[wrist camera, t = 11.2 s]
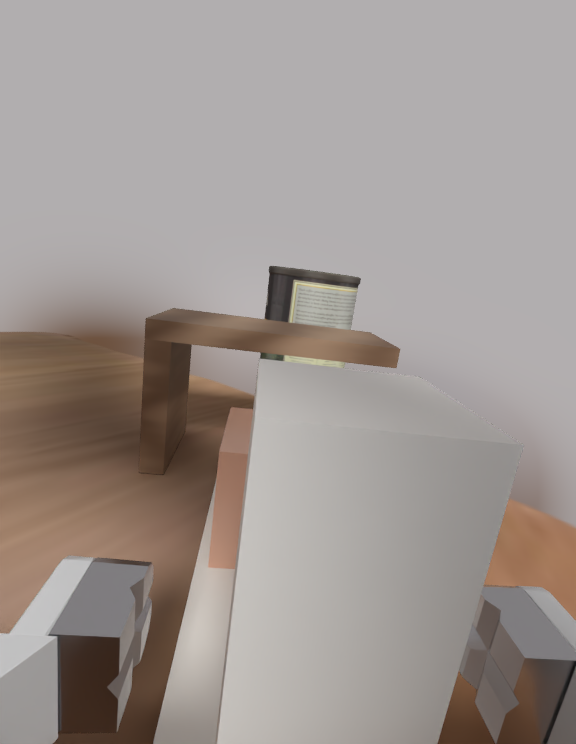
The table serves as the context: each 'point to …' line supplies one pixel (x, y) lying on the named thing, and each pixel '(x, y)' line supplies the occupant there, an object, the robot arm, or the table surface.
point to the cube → (230, 489)
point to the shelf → (185, 327)
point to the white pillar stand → (342, 566)
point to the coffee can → (310, 303)
